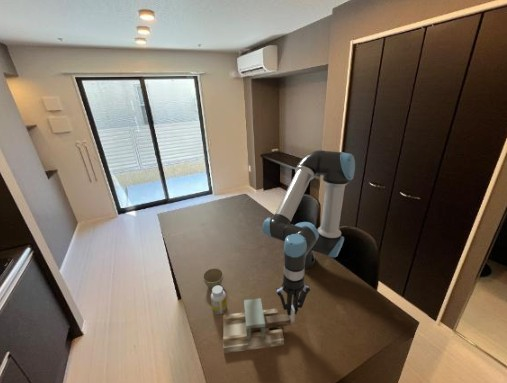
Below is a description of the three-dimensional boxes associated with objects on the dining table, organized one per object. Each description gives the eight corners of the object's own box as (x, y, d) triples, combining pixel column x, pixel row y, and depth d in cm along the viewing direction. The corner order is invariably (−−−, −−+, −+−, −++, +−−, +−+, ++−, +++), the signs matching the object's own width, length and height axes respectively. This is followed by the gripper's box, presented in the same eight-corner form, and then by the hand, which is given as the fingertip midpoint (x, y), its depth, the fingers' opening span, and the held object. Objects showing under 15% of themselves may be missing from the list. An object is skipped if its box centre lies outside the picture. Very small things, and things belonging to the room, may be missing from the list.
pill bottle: (227, 302, 107) (225, 283, 102) (226, 314, 101) (224, 294, 96) (213, 303, 106) (211, 284, 102) (211, 315, 100) (208, 295, 96)
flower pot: (205, 295, 110) (203, 284, 108) (203, 281, 119) (202, 270, 117) (225, 291, 113) (224, 280, 110) (222, 277, 122) (221, 266, 119)
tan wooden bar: (287, 316, 95) (288, 307, 94) (291, 327, 91) (291, 318, 89) (245, 322, 94) (244, 313, 92) (246, 333, 89) (246, 324, 87)
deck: (276, 313, 100) (276, 293, 96) (283, 344, 88) (284, 324, 83) (224, 319, 98) (221, 300, 94) (223, 353, 85) (221, 332, 81)
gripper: (307, 265, 88) (303, 309, 97) (274, 268, 86) (273, 313, 95) (314, 279, 81) (310, 325, 90) (278, 283, 79) (277, 330, 88)
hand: (291, 319), depth 93 cm, fingers closed
